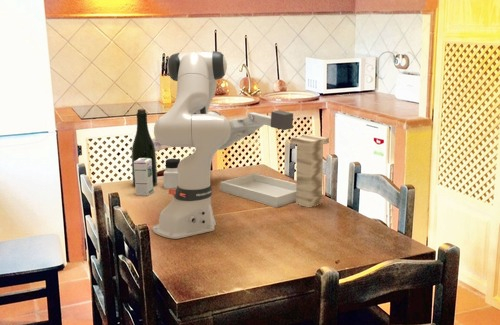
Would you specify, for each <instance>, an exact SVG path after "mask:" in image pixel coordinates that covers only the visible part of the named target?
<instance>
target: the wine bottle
mask: <svg viewBox="0 0 500 325" xmlns="http://www.w3.org/2000/svg"><path fill="white" fill-rule="evenodd" d="M148 125H149V124H148V113H147V112H146V109H143V108H140V109H137V112H136V132H135V136H134V139H133V143H132V146H131V168H132V169H131V170H132V185H133V187H135V174H134V161H136V160H137V159H139V158H151V159H152V173H153V187H154V186H156V185H157V184H158V169H157V167H158V166H157V156H156V148H155V143H154V141H153V139H152V137H151V135H150V131H149V127H148Z"/></svg>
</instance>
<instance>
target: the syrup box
mask: <svg viewBox="0 0 500 325" xmlns="http://www.w3.org/2000/svg"><path fill="white" fill-rule="evenodd" d="M134 174H135V186H134V187H135V195H136V196H144V195H147V196H150V195H151V194H152V193H154V186H153V173H152V159H151V158H139V159H137V160H136V161H134ZM147 196H146V197H147Z"/></svg>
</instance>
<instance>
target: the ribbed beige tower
mask: <svg viewBox="0 0 500 325" xmlns="http://www.w3.org/2000/svg"><path fill="white" fill-rule="evenodd" d="M290 139H291V140H290V143H291V144H293V145H296V201H295V205H298V204H299V205H298V206H302V207H305V206H307V207H306V208H309V207H311V208H313V207H312V206H314V207H316V206H315V205H317V204H320V203H322V204H323V172H324V171H323V170H324V169H323V166H324V164H323V163H324V160H323V159H324V145H325V144H330V143H329V142H330V140H329V139H330V138H329V137H326V136H325V137H324V136H321V135H314V134H304V135H299V136H295V137H291V138H290ZM320 205H321V204H320ZM317 206H318V205H317Z"/></svg>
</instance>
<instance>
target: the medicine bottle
mask: <svg viewBox="0 0 500 325" xmlns="http://www.w3.org/2000/svg"><path fill="white" fill-rule="evenodd" d="M180 161H181V160H180V159H179V158H167V159H166V160H165V170H164V171H163V188H164V189H168V190H169V189H174V190H176V189H177V186H178V164H179V162H180Z"/></svg>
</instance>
